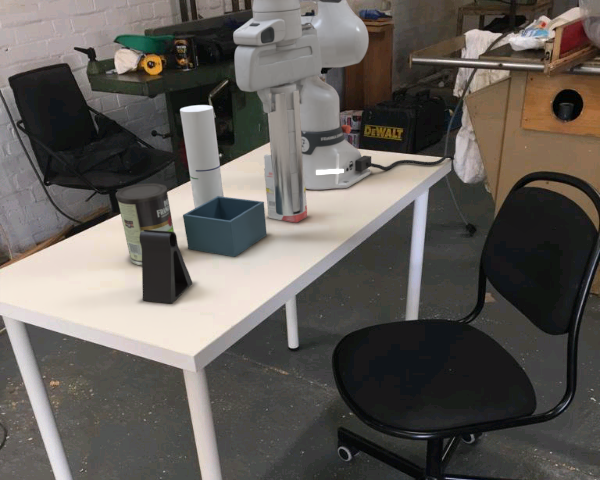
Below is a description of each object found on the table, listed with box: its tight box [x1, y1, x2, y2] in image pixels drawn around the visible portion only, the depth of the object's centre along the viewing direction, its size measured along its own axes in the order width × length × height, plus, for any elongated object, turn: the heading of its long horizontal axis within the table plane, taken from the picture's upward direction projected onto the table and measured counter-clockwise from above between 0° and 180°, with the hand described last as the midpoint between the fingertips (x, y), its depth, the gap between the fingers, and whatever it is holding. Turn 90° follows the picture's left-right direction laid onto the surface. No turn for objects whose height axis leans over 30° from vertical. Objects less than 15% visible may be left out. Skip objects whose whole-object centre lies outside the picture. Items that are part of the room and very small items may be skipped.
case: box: [182, 196, 268, 258], centre depth 140 cm, size 13×12×8 cm
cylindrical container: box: [179, 104, 225, 209], centre depth 147 cm, size 7×7×25 cm
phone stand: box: [140, 230, 193, 304], centre depth 119 cm, size 9×6×12 cm, turn 162°
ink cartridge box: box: [263, 153, 308, 224], centre depth 149 cm, size 9×5×15 cm, turn 55°
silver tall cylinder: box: [267, 82, 305, 216], centre depth 132 cm, size 6×6×25 cm
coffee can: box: [115, 182, 175, 266], centre depth 134 cm, size 10×10×14 cm
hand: (283, 108), depth 127 cm, fingers closed on silver tall cylinder, 6 cm apart
